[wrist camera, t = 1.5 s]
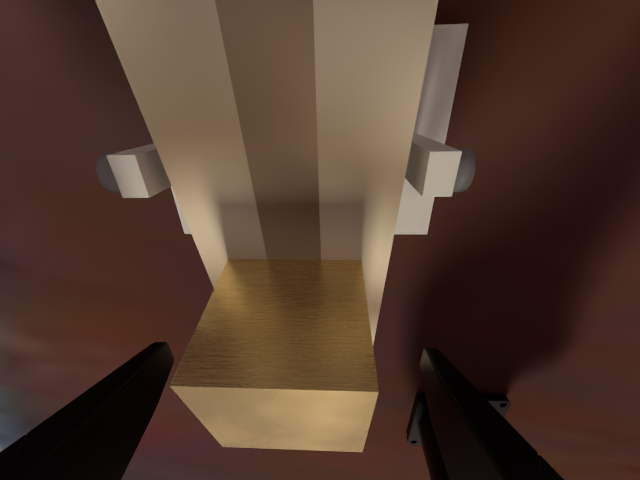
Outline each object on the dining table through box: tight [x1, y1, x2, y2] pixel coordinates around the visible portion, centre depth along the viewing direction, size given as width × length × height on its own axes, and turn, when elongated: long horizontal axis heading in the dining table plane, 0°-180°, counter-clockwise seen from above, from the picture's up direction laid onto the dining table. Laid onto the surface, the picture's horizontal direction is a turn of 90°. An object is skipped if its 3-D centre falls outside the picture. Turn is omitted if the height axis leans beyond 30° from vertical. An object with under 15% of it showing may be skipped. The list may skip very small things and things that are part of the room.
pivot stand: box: [96, 24, 476, 234], centre depth 9 cm, size 8×12×5 cm, turn 91°
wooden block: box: [170, 259, 379, 452], centre depth 10 cm, size 5×5×4 cm
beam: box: [95, 0, 438, 344], centre depth 8 cm, size 22×7×1 cm, turn 1°
